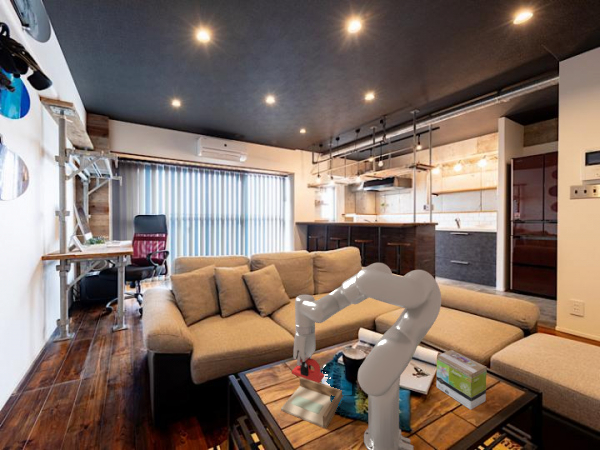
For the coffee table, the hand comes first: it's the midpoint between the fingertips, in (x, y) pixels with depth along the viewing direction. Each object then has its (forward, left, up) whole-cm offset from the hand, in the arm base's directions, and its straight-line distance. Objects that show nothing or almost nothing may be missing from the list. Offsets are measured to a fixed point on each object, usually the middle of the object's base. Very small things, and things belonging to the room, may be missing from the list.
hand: (305, 373), depth 108 cm
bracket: (0, -2, -2) cm, 2 cm away
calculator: (-4, -21, -14) cm, 26 cm away
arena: (-2, -1, -13) cm, 14 cm away
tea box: (-52, -35, -14) cm, 64 cm away
